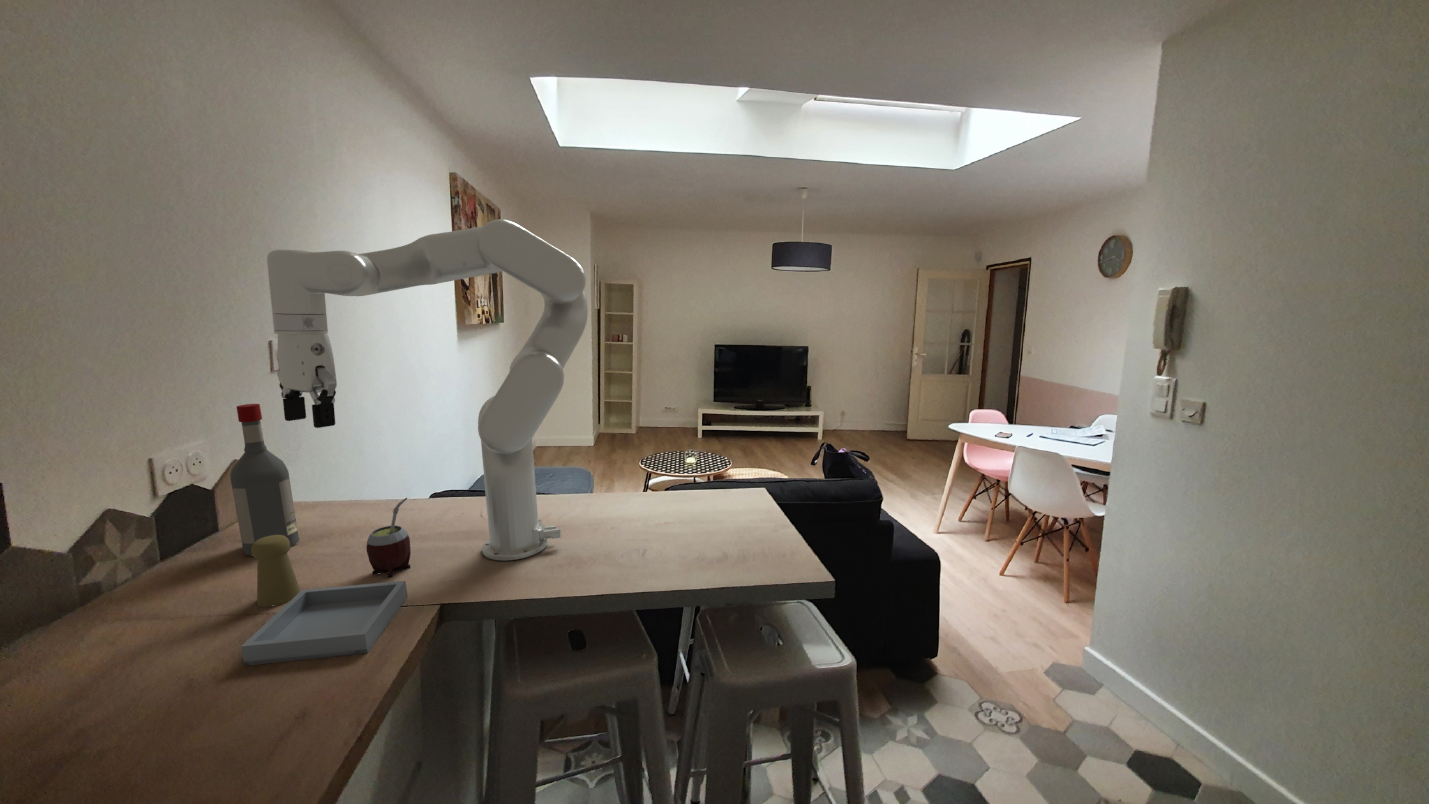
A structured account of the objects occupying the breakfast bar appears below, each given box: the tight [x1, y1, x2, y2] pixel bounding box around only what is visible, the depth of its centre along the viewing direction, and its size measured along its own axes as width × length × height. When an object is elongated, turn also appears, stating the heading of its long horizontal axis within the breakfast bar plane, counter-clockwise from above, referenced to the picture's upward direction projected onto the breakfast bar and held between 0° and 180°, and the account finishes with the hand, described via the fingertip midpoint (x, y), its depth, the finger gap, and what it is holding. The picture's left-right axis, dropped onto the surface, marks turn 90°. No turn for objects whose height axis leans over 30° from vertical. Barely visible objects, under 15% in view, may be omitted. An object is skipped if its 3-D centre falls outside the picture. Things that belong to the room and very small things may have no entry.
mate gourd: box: [366, 497, 412, 579], centre depth 107 cm, size 8×8×15 cm
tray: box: [240, 580, 408, 667], centre depth 89 cm, size 16×16×3 cm
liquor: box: [229, 403, 300, 556], centre depth 118 cm, size 9×9×30 cm
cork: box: [251, 535, 301, 608], centre depth 98 cm, size 6×6×11 cm
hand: (309, 423), depth 101 cm, fingers open, 9 cm apart
